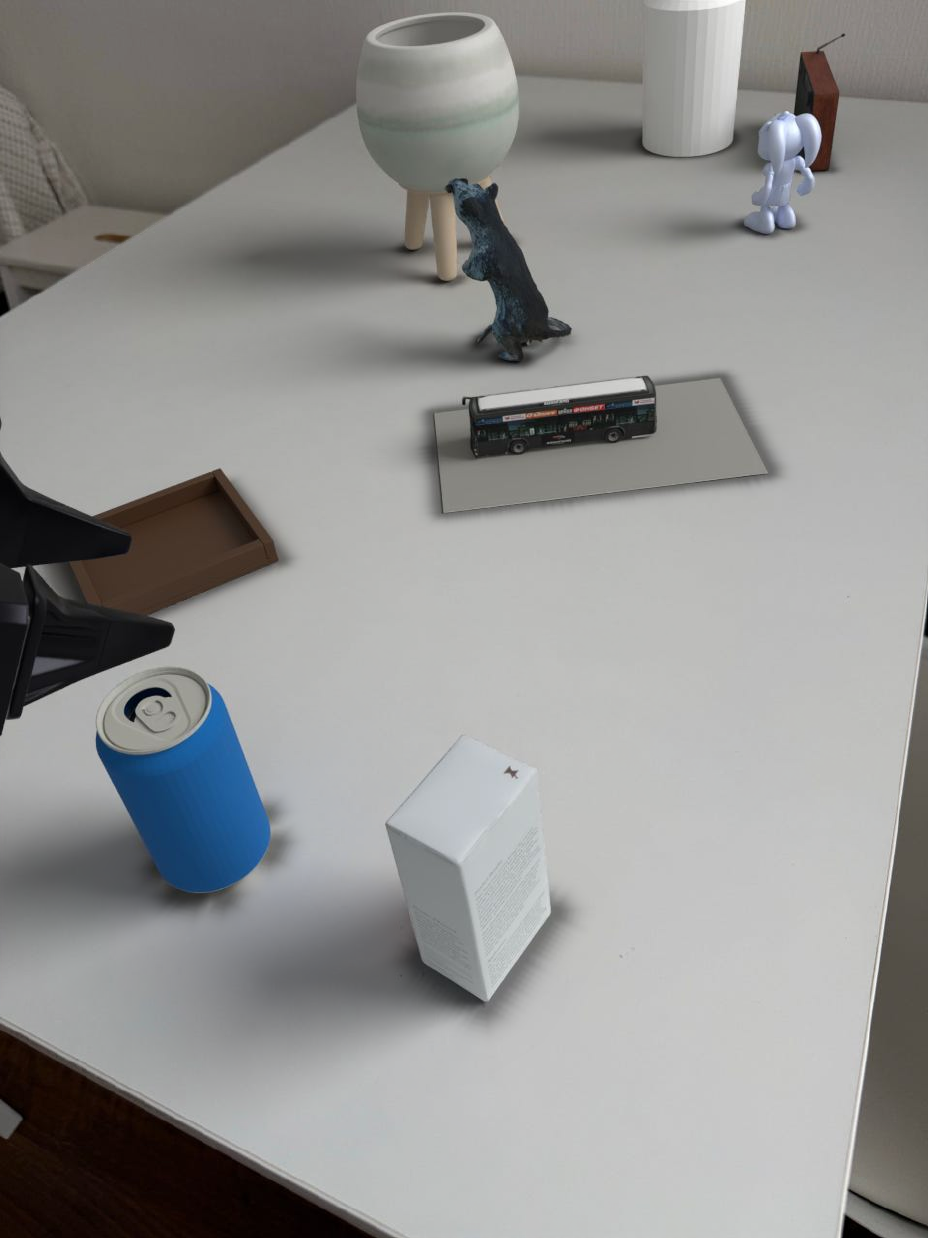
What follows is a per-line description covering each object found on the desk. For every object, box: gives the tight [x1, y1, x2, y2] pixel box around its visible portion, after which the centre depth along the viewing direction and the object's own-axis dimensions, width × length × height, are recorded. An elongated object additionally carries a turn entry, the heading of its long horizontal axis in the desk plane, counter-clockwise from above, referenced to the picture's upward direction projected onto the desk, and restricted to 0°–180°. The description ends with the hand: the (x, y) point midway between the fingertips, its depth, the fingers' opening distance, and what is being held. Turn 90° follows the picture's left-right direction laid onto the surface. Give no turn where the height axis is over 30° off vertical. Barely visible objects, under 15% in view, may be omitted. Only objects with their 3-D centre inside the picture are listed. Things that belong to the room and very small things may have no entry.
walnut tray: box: [68, 467, 280, 616], centre depth 78 cm, size 14×12×2 cm
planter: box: [355, 11, 520, 282], centre depth 106 cm, size 16×16×22 cm
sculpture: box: [445, 178, 573, 362], centre depth 93 cm, size 8×11×15 cm
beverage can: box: [95, 666, 272, 894], centre depth 54 cm, size 6×6×12 cm
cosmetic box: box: [384, 734, 552, 1003], centre depth 49 cm, size 6×4×12 cm
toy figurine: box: [743, 110, 821, 235], centre depth 107 cm, size 7×6×12 cm
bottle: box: [642, 0, 747, 158], centre depth 124 cm, size 12×12×25 cm
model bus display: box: [433, 375, 769, 514], centre depth 83 cm, size 14×25×4 cm, turn 94°
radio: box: [793, 33, 846, 172], centre depth 121 cm, size 19×3×15 cm, turn 172°
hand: (149, 586), depth 51 cm, fingers open, 9 cm apart
